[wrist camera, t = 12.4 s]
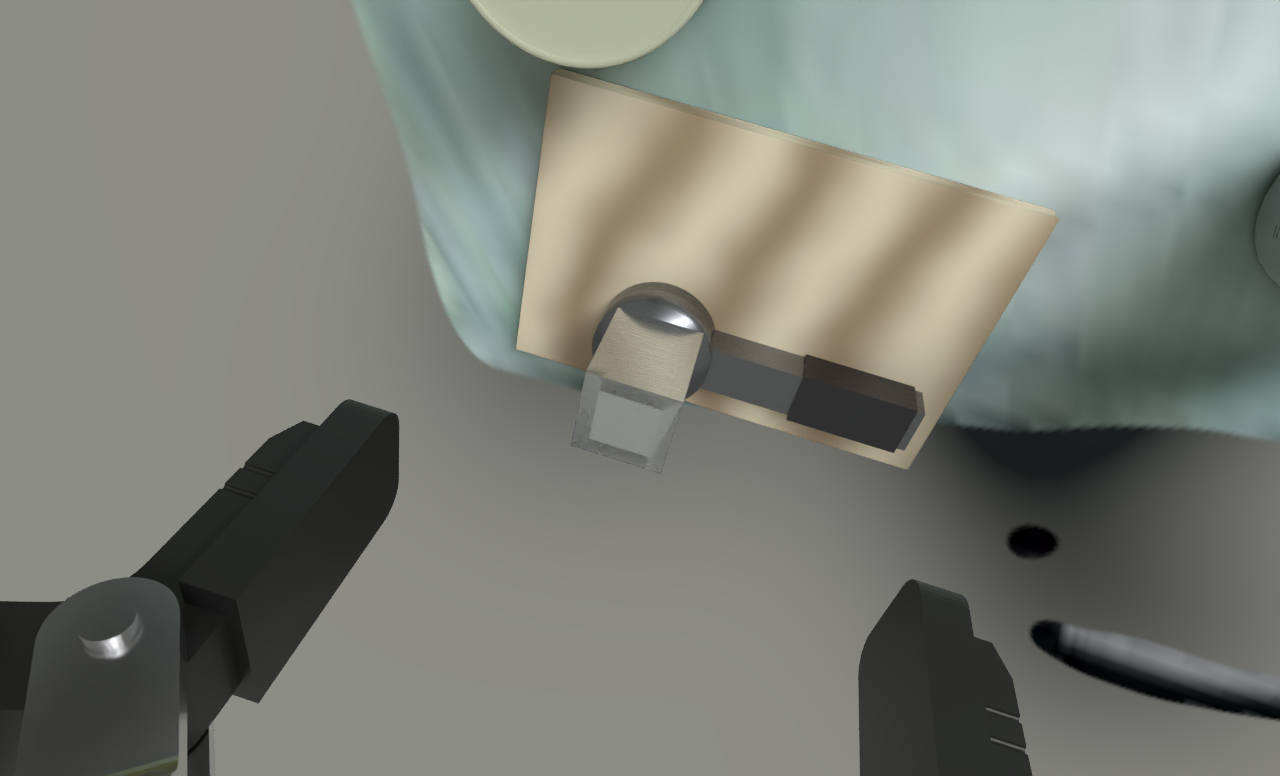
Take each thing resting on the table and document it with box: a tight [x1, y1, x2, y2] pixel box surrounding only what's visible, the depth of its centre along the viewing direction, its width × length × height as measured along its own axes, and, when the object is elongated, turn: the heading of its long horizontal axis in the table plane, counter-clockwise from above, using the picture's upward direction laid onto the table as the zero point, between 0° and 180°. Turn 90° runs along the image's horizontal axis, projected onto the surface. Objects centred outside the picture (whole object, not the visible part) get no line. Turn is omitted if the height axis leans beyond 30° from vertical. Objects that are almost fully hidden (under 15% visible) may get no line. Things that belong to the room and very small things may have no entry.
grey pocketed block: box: [571, 308, 704, 474], centre depth 37 cm, size 5×5×6 cm
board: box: [516, 68, 1059, 470], centre depth 39 cm, size 24×16×1 cm, turn 78°
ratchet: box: [592, 282, 925, 453], centre depth 38 cm, size 18×6×7 cm, turn 78°
